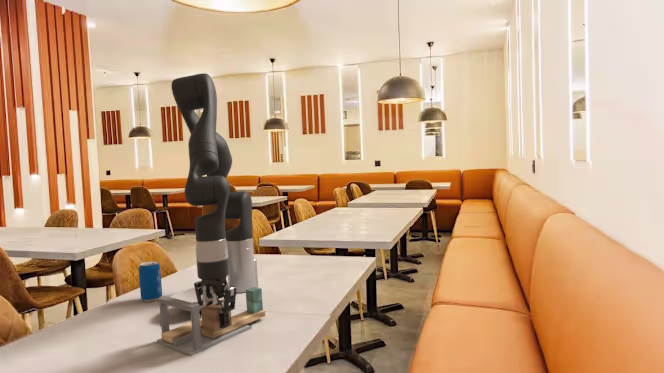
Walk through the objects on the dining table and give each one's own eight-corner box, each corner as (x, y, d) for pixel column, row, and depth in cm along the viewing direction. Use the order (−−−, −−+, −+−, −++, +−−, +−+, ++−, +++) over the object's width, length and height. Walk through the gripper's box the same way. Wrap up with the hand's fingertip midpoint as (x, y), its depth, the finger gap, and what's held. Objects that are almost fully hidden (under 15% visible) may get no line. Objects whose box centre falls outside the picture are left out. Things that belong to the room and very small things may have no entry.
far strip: (192, 327, 111) (191, 322, 111) (203, 331, 108) (202, 325, 108) (161, 339, 104) (161, 333, 104) (172, 343, 102) (172, 337, 102)
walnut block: (219, 321, 110) (217, 302, 110) (231, 324, 107) (230, 305, 107) (202, 327, 107) (201, 307, 106) (215, 331, 103) (213, 311, 103)
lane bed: (217, 318, 119) (214, 281, 119) (251, 328, 111) (248, 287, 110) (156, 342, 105) (153, 299, 104) (190, 355, 97) (187, 308, 96)
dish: (197, 323, 117) (195, 305, 116) (157, 318, 123) (156, 301, 122) (237, 302, 133) (235, 286, 132) (200, 299, 139) (199, 283, 138)
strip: (253, 313, 120) (251, 286, 119) (265, 316, 117) (263, 288, 116) (201, 334, 106) (199, 304, 106) (213, 338, 103) (211, 307, 103)
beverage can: (154, 302, 138) (151, 265, 137) (136, 302, 139) (133, 265, 138) (166, 296, 144) (163, 260, 143) (149, 296, 145) (146, 260, 145)
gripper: (243, 256, 105) (248, 325, 106) (207, 252, 113) (211, 315, 114) (218, 263, 99) (223, 336, 100) (181, 258, 108) (187, 325, 108)
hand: (217, 324), depth 107 cm, fingers closed on walnut block, 5 cm apart
